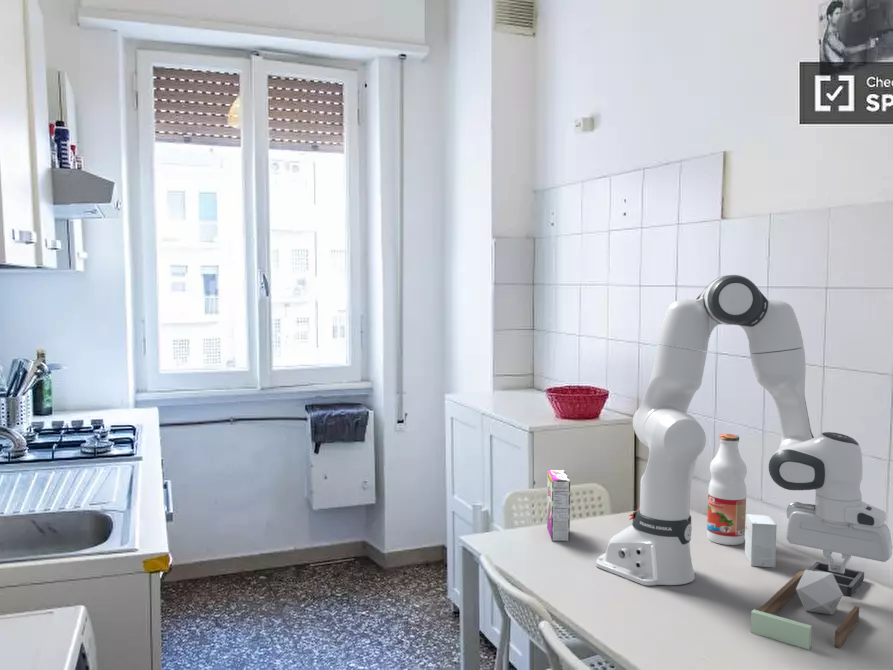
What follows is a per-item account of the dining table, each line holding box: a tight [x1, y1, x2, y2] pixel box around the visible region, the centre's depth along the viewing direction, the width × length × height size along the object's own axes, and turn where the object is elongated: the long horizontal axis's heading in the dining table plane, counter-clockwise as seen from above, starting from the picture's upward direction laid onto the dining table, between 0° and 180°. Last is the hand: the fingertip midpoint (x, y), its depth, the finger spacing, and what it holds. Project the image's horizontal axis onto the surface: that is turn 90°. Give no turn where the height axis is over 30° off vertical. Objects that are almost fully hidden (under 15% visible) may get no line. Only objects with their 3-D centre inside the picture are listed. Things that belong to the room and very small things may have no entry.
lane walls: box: [757, 570, 860, 649], centre depth 152 cm, size 15×32×3 cm, turn 139°
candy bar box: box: [546, 469, 571, 542], centre depth 199 cm, size 11×5×16 cm, turn 179°
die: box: [796, 569, 844, 615], centre depth 154 cm, size 8×9×10 cm
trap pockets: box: [808, 561, 865, 598], centre depth 169 cm, size 10×12×2 cm
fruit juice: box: [706, 433, 747, 546], centre depth 197 cm, size 9×9×28 cm
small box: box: [744, 513, 777, 568], centre depth 182 cm, size 8×6×10 cm
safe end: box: [749, 609, 813, 650], centre depth 141 cm, size 10×2×4 cm, turn 49°
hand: (836, 571), depth 161 cm, fingers closed
